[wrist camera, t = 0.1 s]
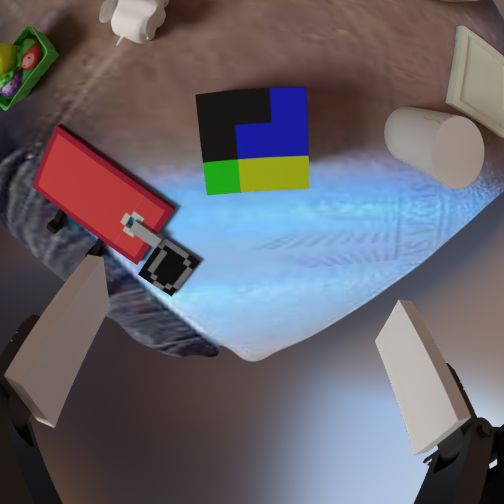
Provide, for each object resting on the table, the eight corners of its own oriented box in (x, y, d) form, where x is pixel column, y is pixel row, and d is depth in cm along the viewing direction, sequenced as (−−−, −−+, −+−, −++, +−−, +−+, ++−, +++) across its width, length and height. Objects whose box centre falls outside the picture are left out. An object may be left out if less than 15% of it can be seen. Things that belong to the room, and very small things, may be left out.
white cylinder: (438, 122, 32) (491, 138, 22) (419, 170, 36) (468, 199, 26) (394, 96, 31) (446, 102, 21) (376, 148, 35) (420, 172, 25)
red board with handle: (167, 299, 48) (218, 236, 42) (163, 310, 45) (216, 245, 40) (31, 201, 38) (61, 124, 33) (22, 207, 36) (51, 126, 31)
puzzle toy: (291, 90, 32) (306, 87, 23) (294, 165, 37) (308, 188, 28) (210, 95, 32) (195, 94, 23) (217, 170, 37) (207, 195, 28)
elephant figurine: (193, 0, 25) (181, -19, 19) (152, 59, 29) (131, 52, 23) (146, -17, 23) (127, -34, 17) (108, 40, 27) (81, 33, 21)
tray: (456, 26, 24) (463, 25, 22) (510, 68, 25) (517, 68, 24) (445, 102, 31) (452, 104, 29) (499, 136, 32) (506, 138, 31)
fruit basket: (25, 108, 30) (-25, 121, 20) (5, 75, 26) (-42, 82, 17) (69, 54, 27) (19, 50, 17) (47, 22, 23) (-1, 14, 14)
